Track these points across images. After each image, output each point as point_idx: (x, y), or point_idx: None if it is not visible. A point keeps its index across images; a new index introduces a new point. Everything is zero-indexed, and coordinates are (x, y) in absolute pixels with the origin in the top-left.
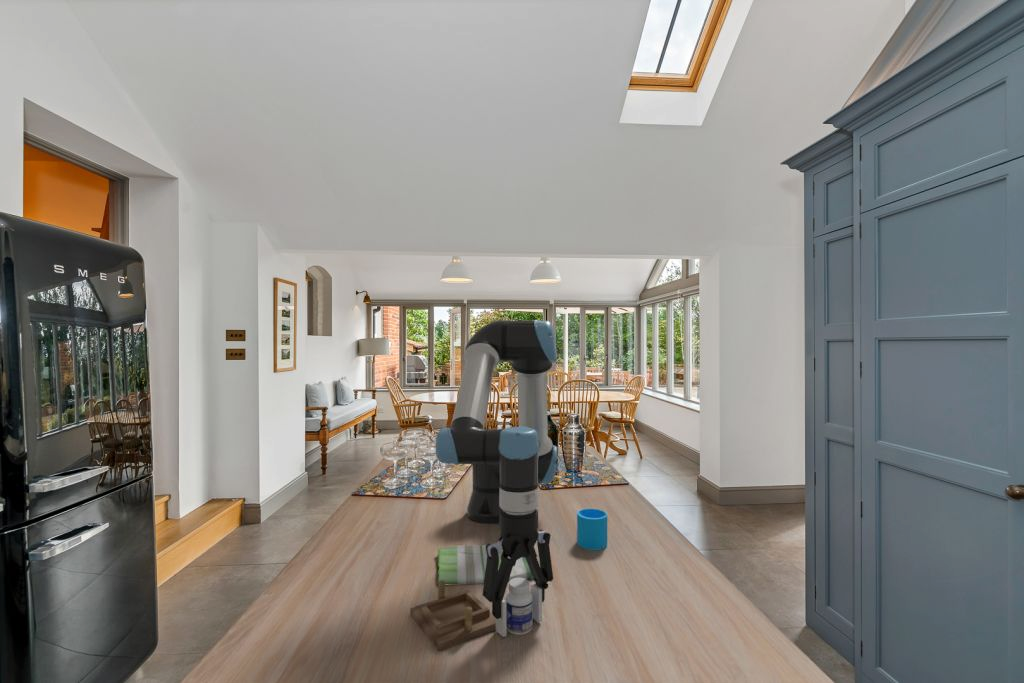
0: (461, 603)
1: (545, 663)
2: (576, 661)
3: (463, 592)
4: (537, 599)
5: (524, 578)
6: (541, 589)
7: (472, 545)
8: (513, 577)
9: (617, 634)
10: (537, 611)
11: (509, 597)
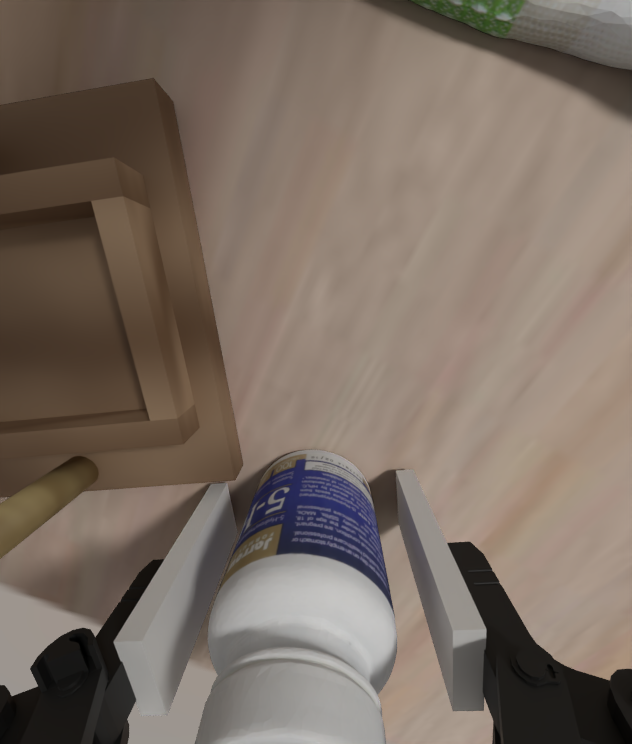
0: (87, 238)
1: None
2: (391, 699)
3: (72, 180)
4: (427, 613)
5: (624, 67)
6: (479, 704)
7: None
8: (557, 27)
9: (610, 674)
10: (408, 552)
11: (215, 667)
